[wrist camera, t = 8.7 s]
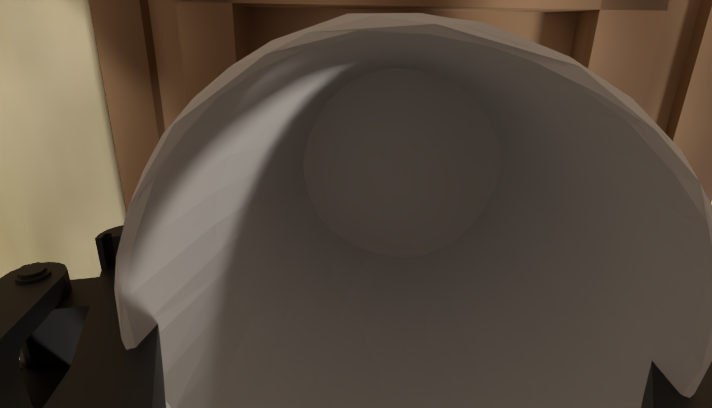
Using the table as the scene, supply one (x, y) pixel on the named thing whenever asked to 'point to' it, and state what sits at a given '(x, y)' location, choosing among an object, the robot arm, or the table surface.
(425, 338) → the mug
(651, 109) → the rack
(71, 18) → the table surface
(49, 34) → the table surface
